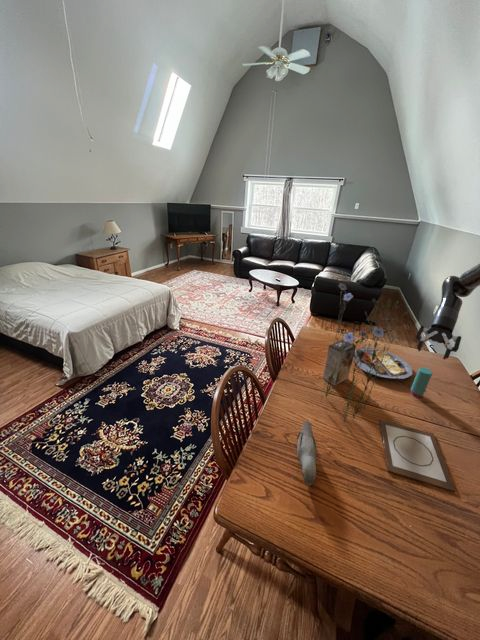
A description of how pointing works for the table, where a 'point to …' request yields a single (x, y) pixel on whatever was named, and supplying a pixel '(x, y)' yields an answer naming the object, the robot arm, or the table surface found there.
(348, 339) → the wildflower
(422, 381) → the cylinder
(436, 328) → the robot arm
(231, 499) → the table surface
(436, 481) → the picture frame
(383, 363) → the food plate
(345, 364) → the coffee box
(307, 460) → the decorative bird
